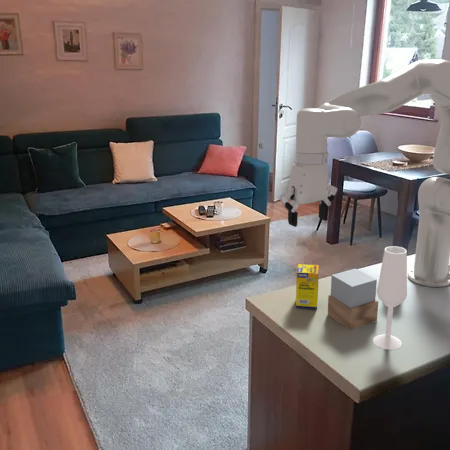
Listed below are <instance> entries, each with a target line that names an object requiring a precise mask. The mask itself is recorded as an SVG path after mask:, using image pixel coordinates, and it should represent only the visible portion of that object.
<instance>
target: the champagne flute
mask: <svg viewBox="0 0 450 450" xmlns="http://www.w3.org/2000/svg"><path fill="white" fill-rule="evenodd" d="M407 252H408V251H407V249H406V248H404V247H402V246H397V245H394V246H393V245H392V246H386V247H385V248H384V249H383V257H382V261H381V266H380V271H379V272H380V273H379V277H378V281H377V287H376V295H377V297H378V299H379V300H380V301H381V302H382V303H383V304H384V306H386V307H387V312H386V313H387V315H386V323H385V324H386V325H385V333H383V334H378V335H376V336H374V337H373V339H372V342H373V344H374V345H375V346H377V347H378V348H380V349H385V350H389V351H390V350H391V351H392V350H398V349H400V348H401V347H402V345H403V342H402V341H401V340H400V338H398V337H397V336H394V335H392V324H393V313H394V308H396V307H397V306H400V305H401V304H402V303H404V301H406V299H407V297H408V265H407V262H408V254H407Z"/></svg>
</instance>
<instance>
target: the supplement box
mask: <svg viewBox="0 0 450 450" xmlns="http://www.w3.org/2000/svg"><path fill="white" fill-rule="evenodd" d="M319 274H320V265H318V264H303V263H298V264H297V267H296V276H295V277H296V278H295V280H296V282H295V284H296V285H295V308H296V309H308V310H309V309H310V310H317V309H318V298H319V297H318V296H319V295H318V294H319V276H320V275H319Z"/></svg>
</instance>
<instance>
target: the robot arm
mask: <svg viewBox="0 0 450 450" xmlns="http://www.w3.org/2000/svg"><path fill="white" fill-rule="evenodd" d="M422 95H429V96H430V98H431V100H432V102H433V103H434V104H435V105H436V107H437V109H438V111H439V113H440V118H441V119H440V122H441V123H440V128H439V132H438V136H437V140H436V143H435V148H434V151H433V156H432V167H433V168H434V169H435V170H436V171H438V172H440V173H443V174H445V175H450V60H446V59H420V60H416V61H414V62H412V63H410V64H408V65H405V66H404V67H402V68H401V69H398V70H397V71H395V72H393V73H391V74H389V75H388V76H385V77H383V78H382V79H380V80H378V81H375V82H372V83H369V84H366V85H364V86H361V87H358V88H356V89H352V90H350V91H346V92H344V93H341V94H340V95H338V96H335V97H333V98H331V99H330V100H328V101H326V102H323V103H322V104H321V105H319V106H318V107H316V108H315V107H314V108H313V107H309V108H308V107H307V108H302V109H299V110H298V111H297V113H296V124H295V125H296V129H295V133H296V134H295V135H296V136H295V163H292V164H291V165H292V166H291V169H290V174H289V178H288V179H289V181H288V189H287V190H286V191H285V192H283V193H281V194H280V195H279V199H280V201H281V203H282V206H283V207H284V208H285V210H287V212H288V213H287V222H288V224H289V225H290V226H292V227H294V228H296V227H298V218H299V217H298V215H299V214H298V213H299V212H298V211H297V209H298V208H299V207H300V206H301V205H305V204H312V203H318V202H320V203H319V205H318V206H319V207H318V218H319V219H320V220H322V221H325V222H326V221H329V220H328V219H329V207H330V206H331V205H332V202H333V200H334V199H335V195H336V194H337V192H338V187H336V186H334V185H331V184H330V178H329V168H328V163H327V162H326V158H329V155H330V154H329V152H328V151H327V139H328V138H335V139H336V138H338V139H346V138H350V137H353V136H354V135H355V134H357V133H358V132H359V130H360V128H361V125H362V120H361V117H364V116H373V115H382V114H386V113H387V114H388V113H390V112H394V111H395V110H397V109H399V108H400V107H403V106H404V105H405V104H408V103H409V102H411V101H413V100H415V99H417V98H419V97H420V96H422ZM288 200H289V201H288ZM417 202H418V209H419V211H418V212H419V213H418V214H419V215H418V226H417V227H418V228H417V237H416V238H417V239H416V246H415V247H416V248H415V257H414V265H413V268H411V269H409V270H408V271H407V278H408V279H409V280H410V281H412V282H413V283H415V284H418V285H421V286H426V287H430V288H431V287H432V288H442V287H447V286H449V285H450V179H448V178H446V177H441V176H431V177H429V178H426V179H425V180H424V181H423V182H421V184H420V186H419V188H418V192H417Z"/></svg>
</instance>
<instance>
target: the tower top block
mask: <svg viewBox="0 0 450 450" xmlns="http://www.w3.org/2000/svg"><path fill="white" fill-rule="evenodd" d="M330 280H331V283H330V295H331V296H332V297H334V298H336V299H337V300H339V301H340V302H342V303H343V304H345V305H347V306H348V307H350V308H353V307H356V306H360V305H363V304H366V303H369V302H373V301H375V299H376V295H377V285H378V281H377V279H376V278H374V277H373V276H371V275H368V274H367V273H365V272H363V271H361V270H359V269H357V268H352V269H349V270H345V271H342V272H338V273H333V274H331V279H330Z"/></svg>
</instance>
